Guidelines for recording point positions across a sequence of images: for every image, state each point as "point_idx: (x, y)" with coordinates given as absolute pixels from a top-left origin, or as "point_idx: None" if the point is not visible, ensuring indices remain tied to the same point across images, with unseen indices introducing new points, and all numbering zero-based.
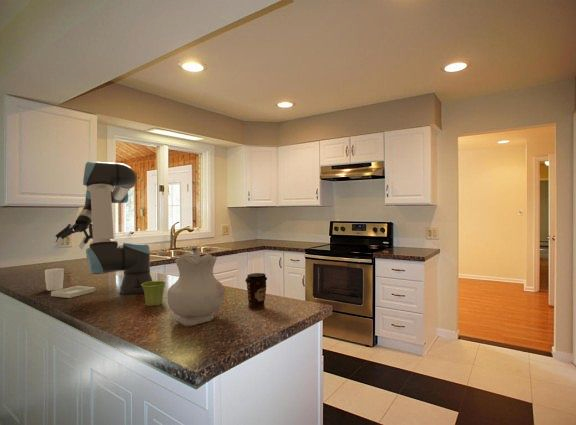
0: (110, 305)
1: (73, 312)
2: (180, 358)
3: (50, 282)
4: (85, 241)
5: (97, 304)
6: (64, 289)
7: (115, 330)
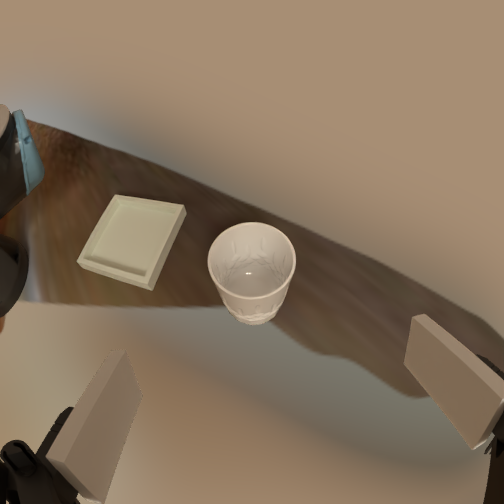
0: None
1: (80, 143)
2: None
3: (245, 256)
4: (65, 411)
5: (55, 177)
6: (163, 238)
7: (35, 126)
